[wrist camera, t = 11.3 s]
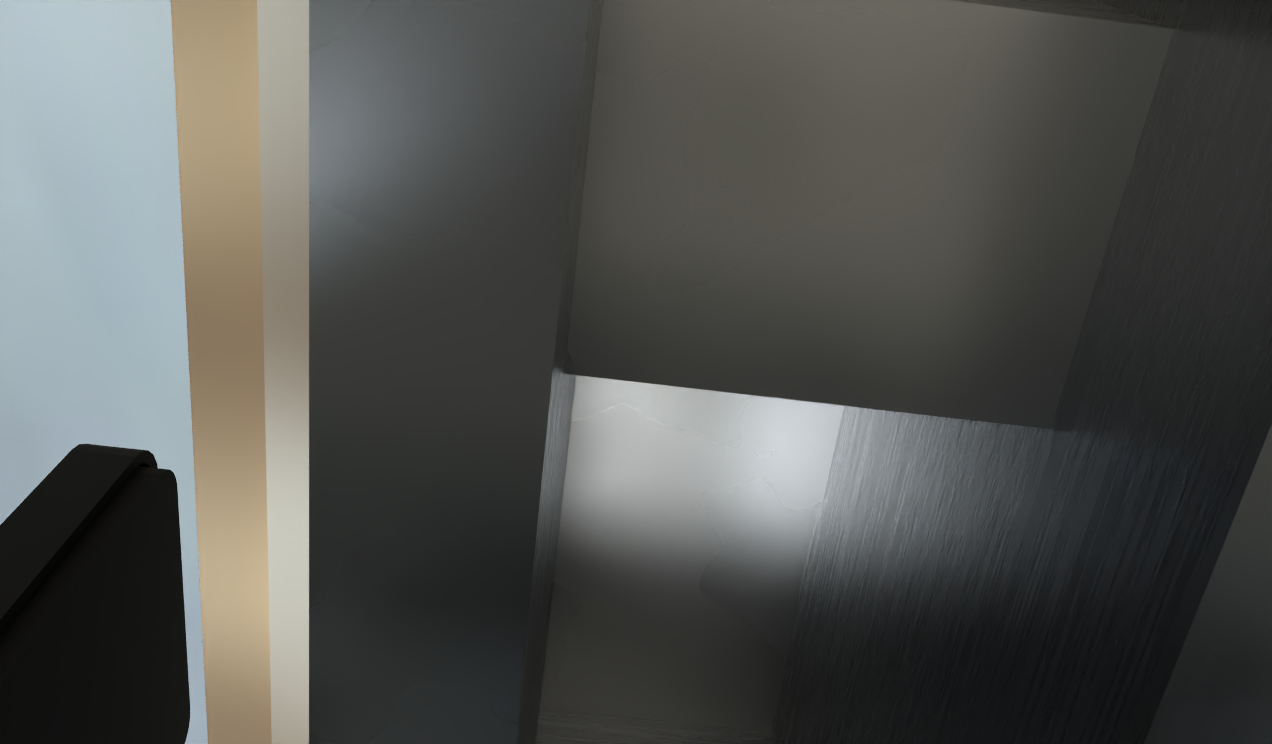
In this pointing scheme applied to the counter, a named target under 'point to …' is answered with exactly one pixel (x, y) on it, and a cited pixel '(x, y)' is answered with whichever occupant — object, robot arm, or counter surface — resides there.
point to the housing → (790, 371)
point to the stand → (248, 352)
